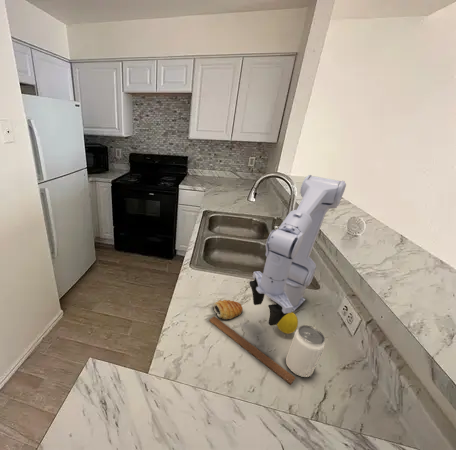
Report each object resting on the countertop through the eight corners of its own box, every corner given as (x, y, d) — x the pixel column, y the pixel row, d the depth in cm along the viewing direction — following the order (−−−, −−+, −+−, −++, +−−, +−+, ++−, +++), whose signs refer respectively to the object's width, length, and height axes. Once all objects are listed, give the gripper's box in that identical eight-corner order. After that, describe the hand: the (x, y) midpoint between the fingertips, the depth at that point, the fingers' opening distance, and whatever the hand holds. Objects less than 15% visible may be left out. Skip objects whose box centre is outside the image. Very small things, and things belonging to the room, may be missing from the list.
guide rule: (214, 317, 82) (214, 316, 82) (294, 379, 64) (295, 377, 64) (209, 320, 81) (209, 319, 81) (290, 384, 63) (291, 383, 63)
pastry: (235, 302, 89) (237, 294, 87) (246, 316, 83) (248, 308, 81) (211, 307, 86) (212, 298, 85) (220, 322, 81) (222, 313, 79)
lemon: (296, 340, 75) (303, 320, 71) (276, 337, 76) (282, 317, 72) (291, 326, 79) (297, 306, 76) (272, 323, 80) (278, 304, 77)
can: (280, 356, 70) (291, 324, 65) (302, 354, 70) (315, 323, 65) (294, 379, 64) (307, 346, 59) (318, 377, 65) (333, 344, 59)
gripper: (246, 259, 71) (238, 297, 77) (278, 294, 58) (266, 337, 64) (269, 257, 72) (260, 294, 78) (305, 291, 59) (291, 332, 65)
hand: (264, 313), depth 71 cm, fingers open, 7 cm apart
